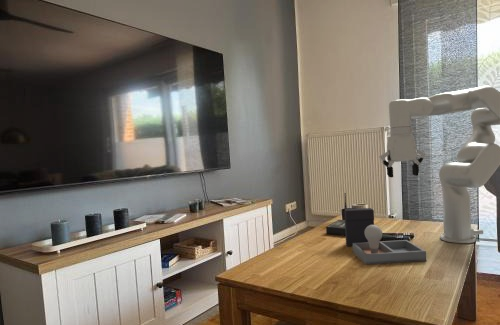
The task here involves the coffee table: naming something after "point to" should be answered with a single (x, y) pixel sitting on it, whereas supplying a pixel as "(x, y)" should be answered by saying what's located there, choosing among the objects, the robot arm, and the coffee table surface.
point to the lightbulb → (373, 237)
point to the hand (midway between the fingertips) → (403, 176)
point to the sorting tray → (389, 252)
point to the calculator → (357, 224)
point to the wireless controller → (337, 226)
